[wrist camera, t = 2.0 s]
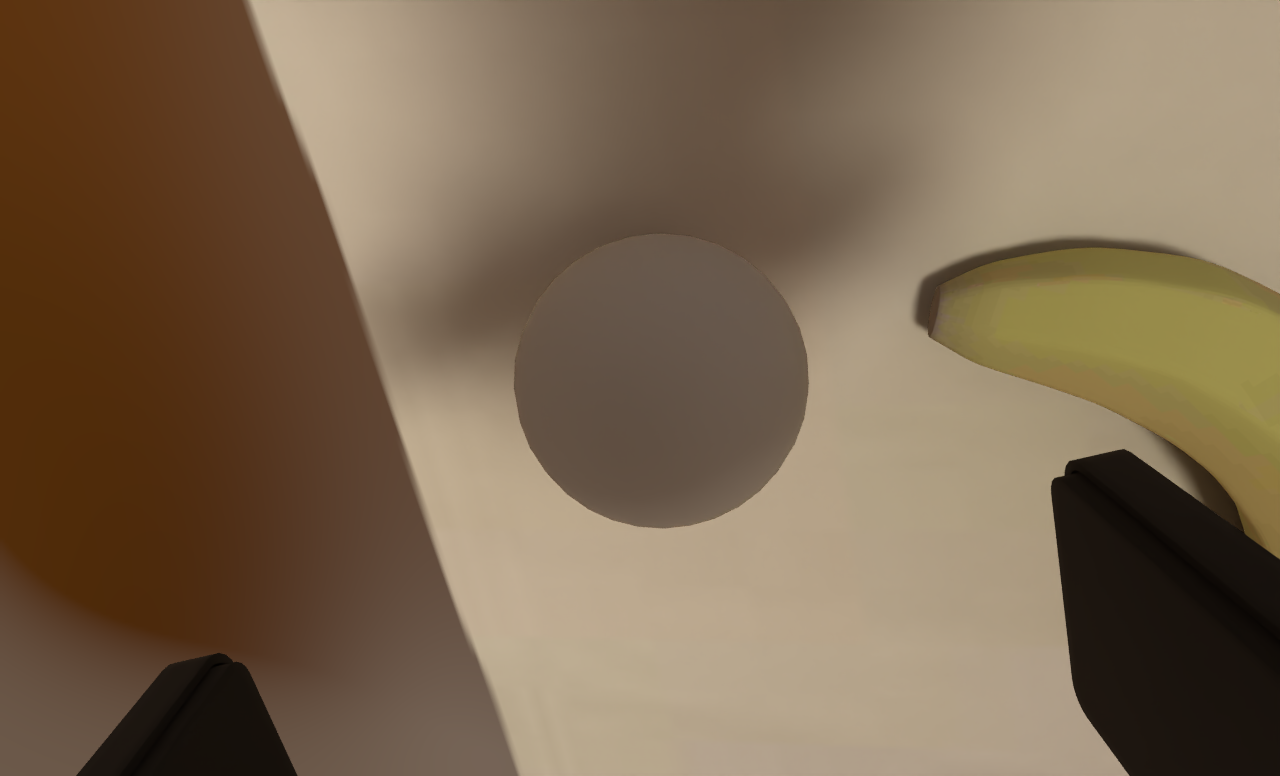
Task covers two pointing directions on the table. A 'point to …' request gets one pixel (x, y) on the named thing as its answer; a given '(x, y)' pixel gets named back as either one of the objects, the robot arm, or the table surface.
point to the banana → (1140, 352)
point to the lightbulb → (661, 380)
